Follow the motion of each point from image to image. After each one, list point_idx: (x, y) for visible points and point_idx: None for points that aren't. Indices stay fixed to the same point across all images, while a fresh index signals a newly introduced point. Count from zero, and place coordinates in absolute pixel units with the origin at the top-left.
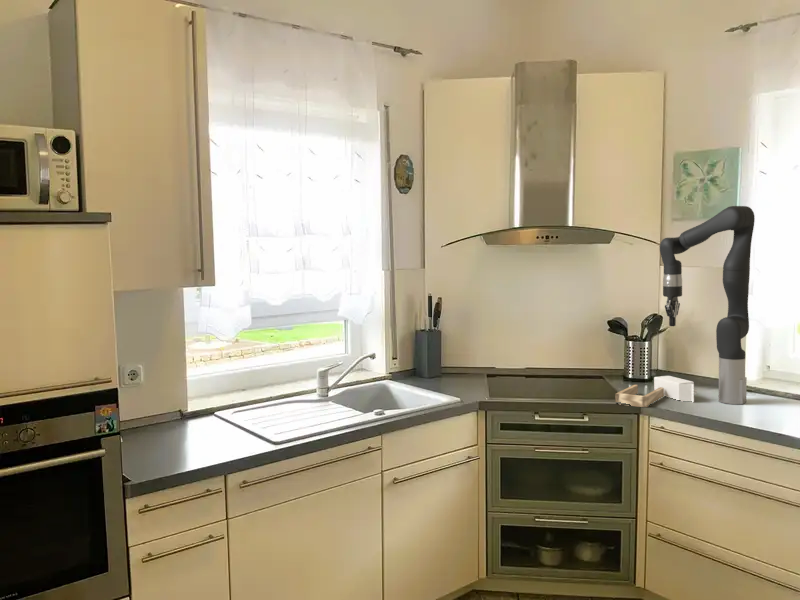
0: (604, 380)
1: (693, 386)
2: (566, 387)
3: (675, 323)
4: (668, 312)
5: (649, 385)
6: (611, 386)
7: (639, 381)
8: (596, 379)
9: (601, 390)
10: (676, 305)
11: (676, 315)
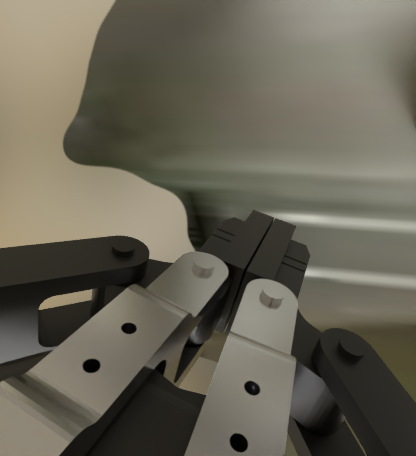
0: (219, 334)
1: None
2: (362, 449)
3: (254, 221)
4: (319, 453)
5: (271, 203)
6: (319, 328)
7: (204, 232)
8: (210, 353)
9: (402, 368)
10: (104, 420)
11: (198, 261)
